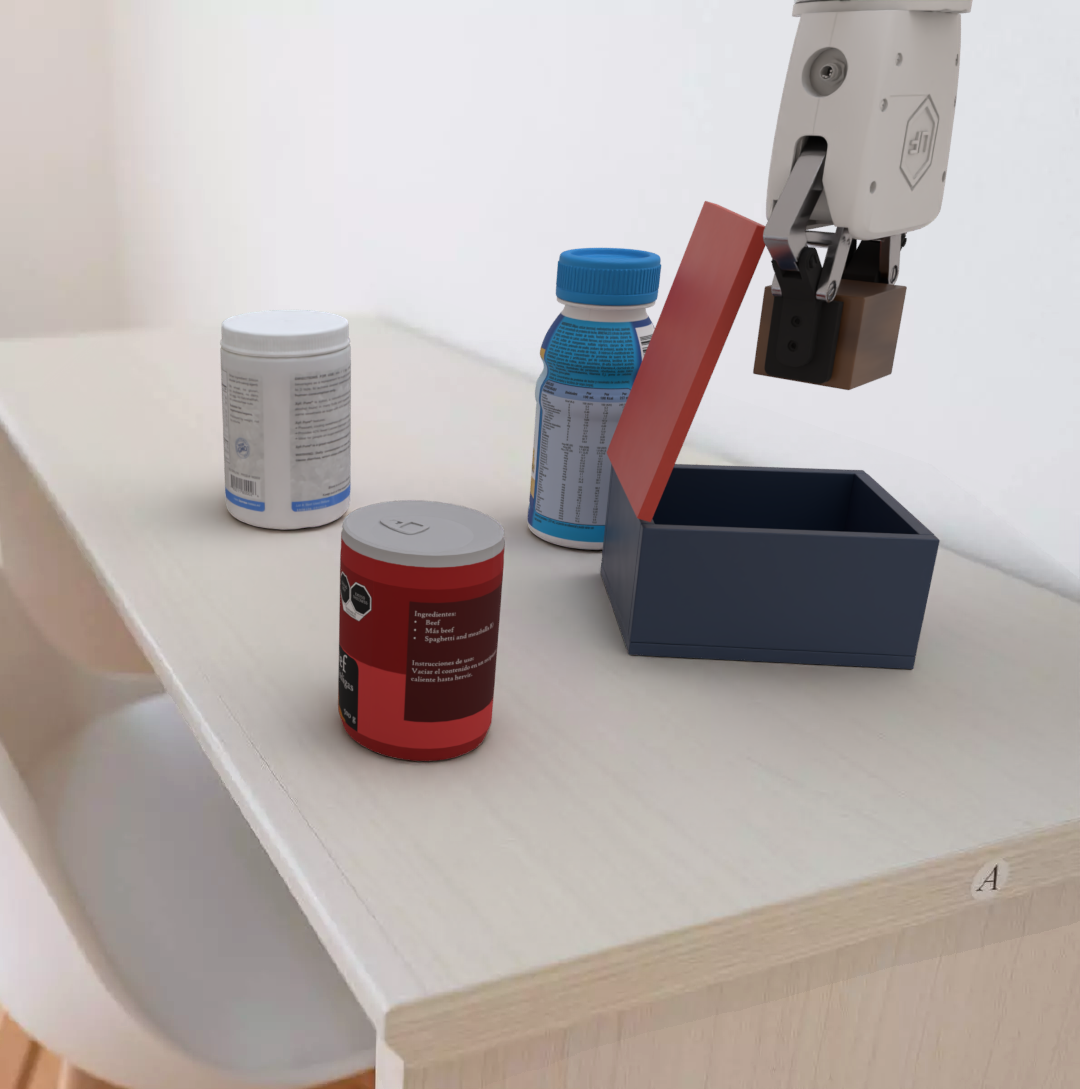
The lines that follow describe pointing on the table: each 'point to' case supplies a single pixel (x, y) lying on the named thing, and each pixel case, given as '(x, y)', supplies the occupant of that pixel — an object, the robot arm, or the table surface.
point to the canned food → (419, 627)
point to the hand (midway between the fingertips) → (823, 365)
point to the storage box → (769, 568)
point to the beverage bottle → (587, 387)
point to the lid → (683, 352)
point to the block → (852, 333)
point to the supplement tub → (286, 417)
